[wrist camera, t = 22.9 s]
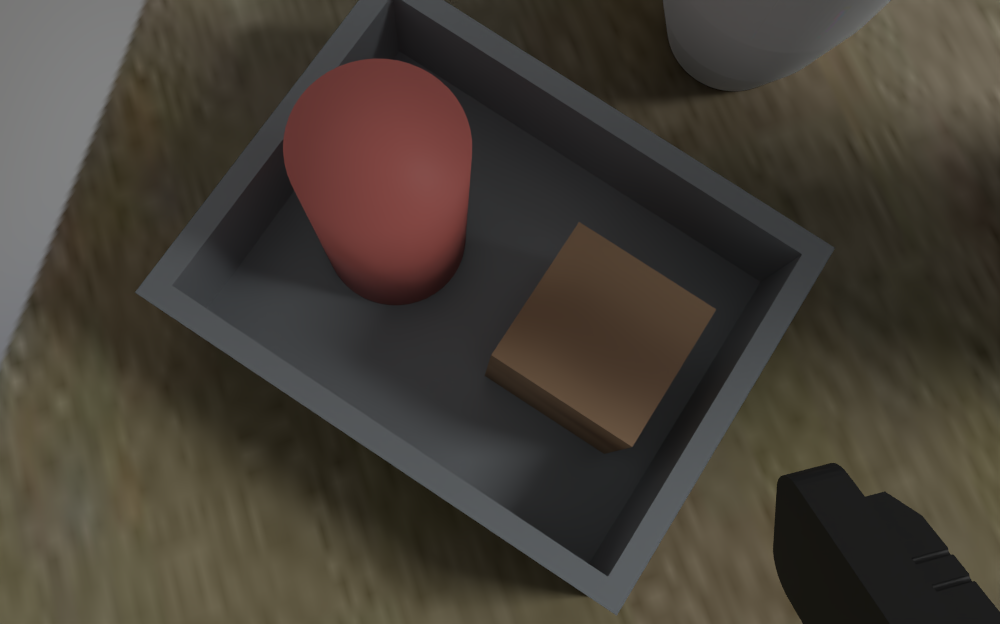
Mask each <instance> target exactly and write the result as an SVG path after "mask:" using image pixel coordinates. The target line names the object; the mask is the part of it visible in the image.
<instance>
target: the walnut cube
mask: <svg viewBox="0 0 1000 624" xmlns="http://www.w3.org/2000/svg"><path fill="white" fill-rule="evenodd" d="M715 311H716V309H715V308H713V307H712V306H710V305H709V304H707V303H705V302H704V301H702V300H701V299H699V298H698V297H696V296H695V295H693V294H691V293H690V292H688V291H687V290H685V289H684V288H682V287H680V286H679V285H677V284H676V283H674V282H673V281H671V280H669V279H668V278H666V277H665V276H663V275H662V274H660V273H659V272H657V271H655V270H654V269H652V268H651V267H649V266H648V265H646V264H644V263H643V262H641V261H640V260H638V259H637V258H635V257H633V256H632V255H630V254H629V253H627V252H626V251H624V250H622V249H621V248H619V247H618V246H616V245H615V244H613V243H612V242H610V241H608V240H607V239H605V238H604V237H602V236H601V235H599V234H597V233H596V232H594V231H593V230H591V229H590V228H588V227H586V226H585V225H583V224H582V223H580V222H579V223H578V224H577V226H576V227H575V229H574V230H573V232H572V233H571V235H570V236H569V238H568V239H567V241H566V242H565V244H564V246H563V247H562V249H561V250H560V252H559V253H558V255H557V256H556V258H555V259H554V261H553V262H552V264H551V265H550V267H549V268H548V270H547V271H546V273H545V274H544V276H543V277H542V279H541V280H540V282H539V283H538V285H537V286H536V288H535V289H534V291H533V292H532V294H531V296H530V297H529V299H528V300H527V302H526V303H525V305H524V306H523V308H522V309H521V311H520V312H519V314H518V315H517V317H516V318H515V320H514V321H513V323H512V324H511V326H510V327H509V329H508V330H507V332H506V333H505V335H504V336H503V338H502V339H501V341H500V342H499V344H498V346H497V347H496V349H495V350H494V352H493V353H492V355H491V357H490V360H489V363H488V366H487V370H486V373H485V376H486V377H487V378H489V379H490V380H492V381H493V382H495V383H497V384H498V385H500V386H501V387H503V388H504V389H506V390H507V391H509V392H510V393H512V394H513V395H515V396H516V397H518V398H519V399H521V400H522V401H524V402H526V403H527V404H529V405H530V406H532V407H533V408H535V409H536V410H538V411H539V412H541V413H542V414H544V415H545V416H547V417H548V418H550V419H552V420H553V421H555V422H556V423H558V424H559V425H561V426H562V427H564V428H565V429H567V430H568V431H570V432H571V433H573V434H574V435H576V436H577V437H579V438H581V439H582V440H584V441H585V442H587V443H588V444H590V445H591V446H593V447H594V448H596V449H597V450H599V451H600V452H602V453H603V454H606V453H610V452H614V451H618V450H622V449H626V448H630V447H633V445H634V443H635V442H636V440H637V438H638V437H639V435H640V434H641V432H642V430H643V429H644V427H645V425H646V424H647V422H648V420H649V419H650V417H651V416H652V414H653V412H654V411H655V409H656V407H657V406H658V404H659V402H660V401H661V399H662V398H663V396H664V394H665V393H666V391H667V389H668V388H669V386H670V384H671V383H672V381H673V380H674V378H675V376H676V375H677V373H678V371H679V370H680V368H681V366H682V365H683V363H684V362H685V360H686V358H687V357H688V355H689V353H690V352H691V350H692V348H693V347H694V345H695V343H696V342H697V340H698V339H699V337H700V335H701V334H702V332H703V330H704V329H705V327H706V325H707V324H708V322H709V321H710V319H711V317H712V316H713V314H714V312H715Z"/></svg>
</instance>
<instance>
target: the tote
mask: <svg viewBox="0 0 1000 624" xmlns="http://www.w3.org/2000/svg"><path fill="white" fill-rule="evenodd" d="M364 59H391V60H398V61H402V62H406V63H409V64H412V65H414V66H417V67H419V68H421V69H423V70H425V71H427V72H429V73H431V74H432V75H433V76H435V77H436V78H437V79H439V80H440V81H441V82H442V83H443V84H444V85H446V86H447V87H448V88H449V89H450V91H451V92H452V93H453V94H454V96H455V97H456V98H457V100H458V101H459V103H460V105H461V106H462V108H463V110H464V112H465V115H466V117H467V119H468V123H469V126H470V130H471V137H472V161H471V174H470V187H469V201H468V214H467V227H466V240H465V248H464V253H463V257H462V260H461V262H460V265H459V267H458V269H457V271H456V272H455V274H454V276H453V277H452V278H451V279H450V281H449V282H448V283H447V284H446V285H445V286H444V287H443V288H442V289H440V290H439V291H438V292H436V293H435V294H433V295H431V296H430V297H428V298H426V299H423V300H421V301H418V302H415V303H411V304H405V305H386V304H380V303H376V302H373V301H370V300H368V299H365V298H363V297H361V296H360V295H358V294H356V293H355V292H354V291H352V290H351V289H350V288H349V287H348V286H347V285H346V284H345V283H344V282H343V281H342V280H341V279H340V278H339V276H338V275H337V273H336V271H335V270H334V268H333V266H332V264H331V262H330V260H329V258H328V256H327V254H326V252H325V250H324V248H323V246H322V244H321V242H320V240H319V238H318V236H317V234H316V232H315V230H314V228H313V226H312V224H311V222H310V220H309V219H308V217H307V215H306V213H305V211H304V209H303V207H302V205H301V203H300V201H299V199H298V197H297V195H296V193H295V191H294V189H293V187H292V185H291V182H290V180H289V177H288V175H287V171H286V167H285V163H284V155H283V139H284V133H285V127H286V124H287V121H288V118H289V115H290V113H291V111H292V109H293V107H294V105H295V104H296V102H297V101H298V99H299V98H300V96H301V95H302V94H303V93H304V92H305V90H306V89H307V88H308V87H309V86H310V85H311V84H312V83H313V82H315V81H316V80H317V79H318V78H320V77H321V76H323V75H324V74H325V73H327V72H329V71H331V70H333V69H335V68H337V67H339V66H341V65H344V64H347V63H350V62H354V61H358V60H364ZM579 222H580V223H582V224H583V225H585V226H586V227H588V228H590V229H591V230H593V231H594V232H596V233H597V234H599V235H601V236H602V237H604V238H605V239H607V240H608V241H610V242H612V243H613V244H615V245H616V246H618V247H619V248H621V249H622V250H624V251H626V252H627V253H629V254H630V255H632V256H633V257H635V258H637V259H638V260H640V261H641V262H643V263H644V264H646V265H648V266H649V267H651V268H652V269H654V270H655V271H657V272H659V273H660V274H662V275H663V276H665V277H666V278H668V279H669V280H671V281H673V282H674V283H676V284H677V285H679V286H680V287H682V288H684V289H685V290H687V291H688V292H690V293H691V294H693V295H695V296H696V297H698V298H699V299H701V300H702V301H704V302H705V303H707V304H709V305H710V306H712V307H713V308H715V309H716V311H715V312H714V314H713V316H712V317H711V319H710V321H709V322H708V324H707V325H706V327H705V329H704V330H703V332H702V334H701V335H700V337H699V339H698V340H697V342H696V343H695V345H694V347H693V348H692V350H691V352H690V353H689V355H688V357H687V358H686V360H685V362H684V363H683V365H682V366H681V368H680V370H679V371H678V373H677V375H676V376H675V378H674V380H673V381H672V383H671V384H670V386H669V388H668V389H667V391H666V393H665V394H664V396H663V398H662V399H661V401H660V402H659V404H658V406H657V407H656V409H655V411H654V412H653V414H652V416H651V417H650V419H649V420H648V422H647V424H646V425H645V427H644V429H643V430H642V432H641V434H640V435H639V437H638V438H637V440H636V442H635V443H634V445H633V447H630V448H626V449H622V450H618V451H614V452H610V453H606V454H603V453H602V452H600V451H599V450H597V449H596V448H594V447H593V446H591V445H590V444H588V443H587V442H585V441H584V440H582V439H581V438H579V437H577V436H576V435H574V434H573V433H571V432H570V431H568V430H567V429H565V428H564V427H562V426H561V425H559V424H558V423H556V422H555V421H553V420H552V419H550V418H548V417H547V416H545V415H544V414H542V413H541V412H539V411H538V410H536V409H535V408H533V407H532V406H530V405H529V404H527V403H526V402H524V401H522V400H521V399H519V398H518V397H516V396H515V395H513V394H512V393H510V392H509V391H507V390H506V389H504V388H503V387H501V386H500V385H498V384H497V383H495V382H493V381H492V380H490V379H489V378H487V377H486V376H485V373H486V370H487V366H488V363H489V360H490V357H491V355H492V353H493V352H494V350H495V349H496V347H497V346H498V344H499V342H500V341H501V339H502V338H503V336H504V335H505V333H506V332H507V330H508V329H509V327H510V326H511V324H512V323H513V321H514V320H515V318H516V317H517V315H518V314H519V312H520V311H521V309H522V308H523V306H524V305H525V303H526V302H527V300H528V299H529V297H530V296H531V294H532V292H533V291H534V289H535V288H536V286H537V285H538V283H539V282H540V280H541V279H542V277H543V276H544V274H545V273H546V271H547V270H548V268H549V267H550V265H551V264H552V262H553V261H554V259H555V258H556V256H557V255H558V253H559V252H560V250H561V249H562V247H563V246H564V244H565V242H566V241H567V239H568V238H569V236H570V235H571V233H572V232H573V230H574V229H575V227H576V226H577V224H578V223H579ZM834 249H835V248H834V247H833V246H831V245H830V244H828V243H827V242H825V241H823V240H822V239H820V238H819V237H817V236H815V235H814V234H812V233H811V232H809V231H808V230H806V229H804V228H803V227H801V226H800V225H798V224H797V223H795V222H793V221H792V220H790V219H789V218H787V217H785V216H784V215H782V214H781V213H779V212H778V211H776V210H774V209H773V208H771V207H770V206H768V205H766V204H765V203H763V202H762V201H760V200H759V199H757V198H755V197H754V196H752V195H751V194H749V193H748V192H746V191H744V190H743V189H741V188H740V187H738V186H736V185H735V184H733V183H732V182H730V181H729V180H727V179H725V178H724V177H722V176H721V175H719V174H717V173H716V172H714V171H713V170H711V169H710V168H708V167H706V166H705V165H703V164H702V163H700V162H699V161H697V160H695V159H694V158H692V157H691V156H689V155H687V154H686V153H684V152H683V151H681V150H680V149H678V148H676V147H675V146H673V145H672V144H670V143H668V142H667V141H665V140H664V139H662V138H661V137H659V136H657V135H656V134H654V133H653V132H651V131H649V130H648V129H646V128H645V127H643V126H642V125H640V124H638V123H637V122H635V121H634V120H632V119H631V118H629V117H627V116H626V115H624V114H623V113H621V112H619V111H618V110H616V109H615V108H613V107H612V106H610V105H608V104H607V103H605V102H604V101H602V100H600V99H599V98H597V97H596V96H594V95H593V94H591V93H589V92H588V91H586V90H585V89H583V88H582V87H580V86H578V85H577V84H575V83H574V82H572V81H570V80H569V79H567V78H566V77H564V76H563V75H561V74H559V73H558V72H556V71H555V70H553V69H551V68H550V67H548V66H547V65H545V64H544V63H542V62H540V61H539V60H537V59H536V58H534V57H533V56H531V55H529V54H528V53H526V52H525V51H523V50H521V49H520V48H518V47H517V46H515V45H514V44H512V43H510V42H509V41H507V40H506V39H504V38H502V37H501V36H499V35H498V34H496V33H495V32H493V31H491V30H490V29H488V28H487V27H485V26H484V25H482V24H480V23H479V22H477V21H476V20H474V19H472V18H471V17H469V16H468V15H466V14H465V13H463V12H461V11H460V10H458V9H457V8H455V7H453V6H452V5H450V4H449V3H447V2H446V1H444V0H359V1H358V2H357V3H356V5H355V6H354V7H353V9H352V10H351V11H350V13H349V14H348V15H347V16H346V18H345V19H344V20H343V22H342V23H341V24H340V26H339V27H338V28H337V29H336V31H335V32H334V33H333V35H332V36H331V37H330V39H329V40H328V41H327V43H326V44H325V45H324V46H323V48H322V49H321V50H320V52H319V53H318V54H317V56H316V57H315V58H314V59H313V61H312V62H311V63H310V65H309V66H308V67H307V69H306V70H305V71H304V73H303V74H302V75H301V76H300V78H299V79H298V80H297V82H296V83H295V84H294V86H293V87H292V88H291V89H290V91H289V92H288V93H287V95H286V96H285V97H284V99H283V100H282V101H281V103H280V104H279V105H278V106H277V108H276V109H275V110H274V112H273V113H272V114H271V116H270V117H269V118H268V120H267V121H266V122H265V123H264V125H263V126H262V127H261V129H260V130H259V131H258V133H257V134H256V135H255V136H254V138H253V139H252V140H251V142H250V143H249V144H248V146H247V147H246V148H245V150H244V151H243V152H242V153H241V155H240V156H239V157H238V159H237V160H236V161H235V163H234V164H233V165H232V166H231V168H230V169H229V170H228V172H227V173H226V174H225V176H224V177H223V178H222V180H221V181H220V182H219V183H218V185H217V186H216V187H215V189H214V190H213V191H212V193H211V194H210V195H209V196H208V198H207V199H206V200H205V202H204V203H203V204H202V206H201V207H200V208H199V210H198V211H197V212H196V213H195V215H194V216H193V217H192V219H191V220H190V221H189V223H188V224H187V225H186V226H185V228H184V229H183V230H182V232H181V233H180V234H179V236H178V237H177V238H176V240H175V241H174V242H173V243H172V245H171V246H170V247H169V249H168V250H167V251H166V253H165V254H164V255H163V256H162V258H161V259H160V260H159V262H158V263H157V264H156V266H155V267H154V268H153V270H152V271H151V272H150V273H149V275H148V276H147V277H146V279H145V280H144V281H143V283H142V284H141V285H140V287H139V288H138V289H137V290H136V292H135V293H137V294H138V295H140V296H141V297H143V298H144V299H146V300H147V301H148V302H150V303H151V304H153V305H154V306H156V307H157V308H159V309H160V310H162V311H163V312H165V313H166V314H168V315H169V316H171V317H172V318H174V319H175V320H177V321H178V322H180V323H181V324H183V325H184V326H186V327H187V328H189V329H190V330H192V331H193V332H195V333H196V334H198V335H199V336H201V337H202V338H204V339H205V340H207V341H208V342H210V343H211V344H213V345H214V346H216V347H217V348H219V349H220V350H222V351H223V352H225V353H226V354H228V355H229V356H231V357H232V358H233V359H235V360H236V361H238V362H239V363H241V364H242V365H244V366H245V367H247V368H248V369H250V370H251V371H253V372H254V373H256V374H257V375H259V376H260V377H262V378H263V379H265V380H266V381H268V382H269V383H271V384H272V385H274V386H275V387H277V388H278V389H280V390H281V391H283V392H284V393H286V394H287V395H289V396H290V397H292V398H293V399H295V400H296V401H298V402H299V403H301V404H302V405H304V406H305V407H307V408H308V409H310V410H311V411H313V412H314V413H316V414H317V415H318V416H320V417H321V418H323V419H324V420H326V421H327V422H329V423H330V424H332V425H333V426H335V427H336V428H338V429H339V430H341V431H342V432H344V433H345V434H347V435H348V436H350V437H351V438H353V439H354V440H356V441H357V442H359V443H360V444H362V445H363V446H365V447H366V448H368V449H369V450H371V451H372V452H374V453H375V454H377V455H378V456H380V457H381V458H383V459H384V460H386V461H387V462H389V463H390V464H392V465H393V466H395V467H396V468H398V469H399V470H401V471H402V472H403V473H405V474H406V475H408V476H409V477H411V478H412V479H414V480H415V481H417V482H418V483H420V484H421V485H423V486H424V487H426V488H427V489H429V490H430V491H432V492H433V493H435V494H436V495H438V496H439V497H441V498H442V499H444V500H445V501H447V502H448V503H450V504H451V505H453V506H454V507H456V508H457V509H459V510H460V511H462V512H463V513H465V514H466V515H468V516H469V517H471V518H472V519H474V520H475V521H477V522H478V523H480V524H481V525H483V526H484V527H486V528H487V529H488V530H490V531H491V532H493V533H494V534H496V535H497V536H499V537H500V538H502V539H503V540H505V541H506V542H508V543H509V544H511V545H512V546H514V547H515V548H517V549H518V550H520V551H521V552H523V553H524V554H526V555H527V556H529V557H530V558H532V559H533V560H535V561H536V562H538V563H539V564H541V565H542V566H544V567H545V568H547V569H548V570H550V571H551V572H553V573H554V574H556V575H557V576H559V577H560V578H562V579H563V580H565V581H566V582H568V583H569V584H571V585H572V586H573V587H575V588H576V589H578V590H579V591H581V592H582V593H584V594H585V595H587V596H588V597H590V598H591V599H593V600H594V601H596V602H597V603H599V604H600V605H602V606H603V607H605V608H606V609H608V610H609V611H611V612H612V613H614V614H615V615H617V614H618V612H619V611H620V609H621V607H622V606H623V604H624V602H625V601H626V599H627V597H628V596H629V594H630V592H631V591H632V589H633V587H634V586H635V584H636V582H637V580H638V579H639V577H640V575H641V574H642V572H643V570H644V569H645V567H646V565H647V564H648V562H649V560H650V559H651V557H652V555H653V554H654V552H655V550H656V549H657V547H658V545H659V543H660V542H661V540H662V538H663V537H664V535H665V533H666V532H667V530H668V528H669V527H670V525H671V523H672V522H673V520H674V518H675V517H676V515H677V513H678V512H679V510H680V508H681V506H682V505H683V503H684V501H685V500H686V498H687V496H688V495H689V493H690V491H691V490H692V488H693V486H694V485H695V483H696V481H697V480H698V478H699V476H700V474H701V473H702V471H703V469H704V468H705V466H706V464H707V463H708V461H709V459H710V458H711V456H712V454H713V453H714V451H715V449H716V448H717V446H718V444H719V443H720V441H721V439H722V437H723V436H724V434H725V432H726V431H727V429H728V427H729V426H730V424H731V422H732V421H733V419H734V417H735V416H736V414H737V412H738V411H739V409H740V407H741V406H742V404H743V402H744V400H745V399H746V397H747V395H748V394H749V392H750V390H751V389H752V387H753V385H754V384H755V382H756V380H757V379H758V377H759V375H760V374H761V372H762V370H763V368H764V367H765V365H766V363H767V362H768V360H769V358H770V357H771V355H772V353H773V352H774V350H775V348H776V347H777V345H778V343H779V342H780V340H781V338H782V337H783V335H784V333H785V331H786V330H787V328H788V326H789V325H790V323H791V321H792V320H793V318H794V316H795V315H796V313H797V311H798V310H799V308H800V306H801V305H802V303H803V301H804V300H805V298H806V296H807V294H808V293H809V291H810V289H811V288H812V286H813V284H814V283H815V281H816V279H817V278H818V276H819V274H820V273H821V271H822V269H823V268H824V266H825V264H826V262H827V261H828V259H829V257H830V256H831V254H832V252H833V251H834Z"/></svg>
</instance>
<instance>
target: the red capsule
mask: <svg viewBox="0 0 1000 624" xmlns="http://www.w3.org/2000/svg"><path fill="white" fill-rule="evenodd" d="M283 155H284V163H285V167H286V171H287V175H288V177H289V180H290V182H291V185H292V187H293V189H294V191H295V193H296V195H297V197H298V199H299V201H300V203H301V205H302V207H303V209H304V211H305V213H306V215H307V217H308V219H309V220H310V222H311V224H312V226H313V228H314V230H315V232H316V234H317V236H318V238H319V240H320V242H321V244H322V246H323V248H324V250H325V252H326V254H327V256H328V258H329V260H330V262H331V264H332V266H333V268H334V270H335V271H336V273H337V275H338V276H339V278H340V279H341V280H342V281H343V282H344V283H345V284H346V285H347V286H348V287H349V288H350V289H351V290H352V291H354V292H355V293H356V294H358V295H360V296H361V297H363V298H365V299H368V300H370V301H373V302H376V303H380V304H386V305H405V304H411V303H415V302H418V301H421V300H423V299H426V298H428V297H430V296H431V295H433V294H435V293H436V292H438V291H439V290H440V289H442V288H443V287H444V286H445V285H446V284H447V283H448V282H449V281H450V279H451V278H452V277H453V276H454V274H455V272H456V271H457V269H458V267H459V265H460V262H461V260H462V257H463V253H464V248H465V240H466V227H467V214H468V201H469V187H470V174H471V161H472V137H471V130H470V126H469V123H468V119H467V117H466V115H465V112H464V110H463V108H462V106H461V105H460V103H459V101H458V100H457V98H456V97H455V96H454V94H453V93H452V92H451V91H450V89H449V88H448V87H447V86H446V85H444V84H443V83H442V82H441V81H440V80H439V79H437V78H436V77H435V76H433V75H432V74H431V73H429V72H427V71H425V70H423V69H421V68H419V67H417V66H414V65H412V64H409V63H406V62H402V61H398V60H391V59H364V60H358V61H354V62H350V63H347V64H344V65H341V66H339V67H337V68H335V69H333V70H331V71H329V72H327V73H325V74H324V75H323V76H321V77H320V78H318V79H317V80H316V81H315V82H313V83H312V84H311V85H310V86H309V87H308V88H307V89H306V90H305V92H304V93H303V94H302V95H301V96H300V98H299V99H298V101H297V102H296V104H295V105H294V107H293V109H292V111H291V113H290V115H289V118H288V121H287V124H286V127H285V133H284V139H283Z"/></svg>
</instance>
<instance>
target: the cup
mask: <svg viewBox="0 0 1000 624" xmlns="http://www.w3.org/2000/svg"><path fill="white" fill-rule="evenodd" d="M890 1H891V0H663V6H664V13H665V20H666V27H667V34H668V40H669V44H670V47H671V50H672V52H673V54H674V56H675V58H676V60H677V61H678V63H679V64H680V65H681V66H682V68H683V69H684V70H685V71H686V72H687V73H688V74H689V75H691V76H692V77H693V78H694V79H696V80H697V81H699V82H701V83H703V84H705V85H707V86H709V87H712V88H715V89H719V90H724V91H744V90H749V89H753V88H756V87H759V86H761V85H764V84H767V83H770V82H773V81H775V80H778V79H781V78H784V77H787V76H789V75H791V74H794V73H796V72H798V71H799V70H801V69H803V68H804V67H806V66H807V65H809V64H810V63H811V62H813V61H814V60H816V59H817V58H819V57H820V56H822V55H823V54H825V53H826V52H828V51H829V50H831V49H832V48H834V47H835V46H837V45H838V44H840V43H841V42H842V41H844V40H845V39H847V38H848V37H850V36H851V35H853V34H854V33H856V32H857V31H858V30H859V29H861V28H862V27H863V26H864V25H865V24H866V23H867V22H868V21H869V20H870V19H871V18H873V17H874V16H875V15H876V14H877V13H878V12H879V11H880V10H881V9H882V8H883V7H884V6H885V5H886V4H887V3H889V2H890Z"/></svg>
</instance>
